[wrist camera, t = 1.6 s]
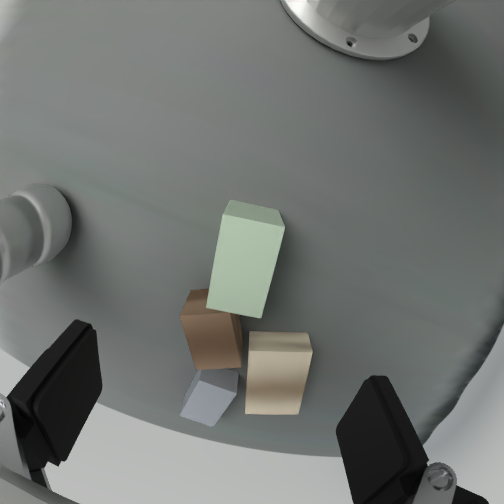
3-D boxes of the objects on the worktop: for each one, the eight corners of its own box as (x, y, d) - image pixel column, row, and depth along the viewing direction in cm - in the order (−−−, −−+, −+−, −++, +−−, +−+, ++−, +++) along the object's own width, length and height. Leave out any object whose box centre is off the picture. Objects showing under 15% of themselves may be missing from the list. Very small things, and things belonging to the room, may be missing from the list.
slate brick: (204, 358, 26) (199, 380, 23) (238, 371, 26) (237, 393, 23) (184, 394, 28) (179, 415, 25) (215, 405, 28) (212, 426, 25)
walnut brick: (190, 290, 23) (179, 316, 19) (233, 285, 23) (229, 311, 19) (203, 340, 25) (196, 369, 21) (243, 336, 25) (241, 367, 21)
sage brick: (230, 199, 21) (222, 214, 16) (278, 209, 21) (285, 227, 16) (215, 275, 23) (205, 307, 18) (259, 284, 23) (260, 318, 18)
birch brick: (249, 329, 25) (248, 350, 22) (307, 330, 25) (312, 351, 22) (246, 391, 27) (245, 413, 24) (295, 392, 27) (298, 414, 24)
